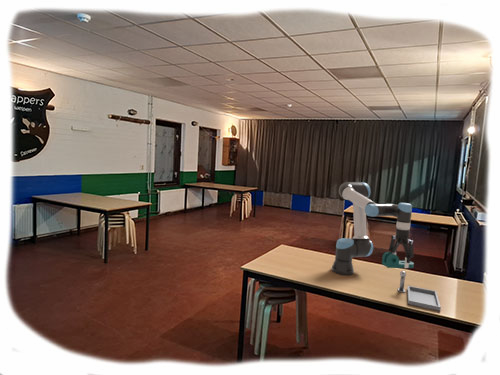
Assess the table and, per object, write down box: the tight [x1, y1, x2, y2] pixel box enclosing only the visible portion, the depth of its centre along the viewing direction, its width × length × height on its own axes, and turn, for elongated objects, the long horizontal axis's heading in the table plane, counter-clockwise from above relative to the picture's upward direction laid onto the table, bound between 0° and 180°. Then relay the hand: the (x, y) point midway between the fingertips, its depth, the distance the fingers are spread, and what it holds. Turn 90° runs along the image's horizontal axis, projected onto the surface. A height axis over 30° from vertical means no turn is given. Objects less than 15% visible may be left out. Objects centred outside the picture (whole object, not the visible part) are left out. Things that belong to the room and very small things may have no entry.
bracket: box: [381, 251, 415, 269], centre depth 199 cm, size 18×7×8 cm, turn 97°
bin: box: [406, 285, 442, 312], centre depth 195 cm, size 16×24×2 cm, turn 156°
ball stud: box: [397, 270, 407, 293], centre depth 205 cm, size 4×4×13 cm
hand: (399, 265), depth 199 cm, fingers closed on bracket, 8 cm apart
